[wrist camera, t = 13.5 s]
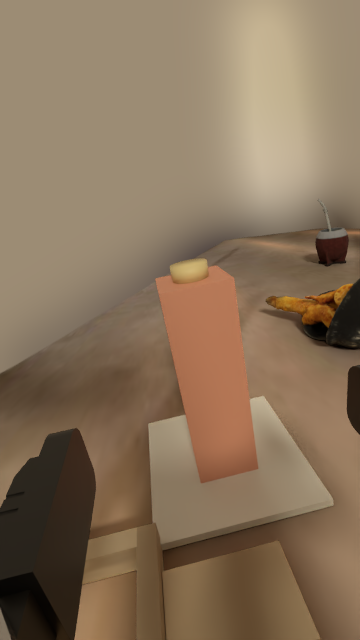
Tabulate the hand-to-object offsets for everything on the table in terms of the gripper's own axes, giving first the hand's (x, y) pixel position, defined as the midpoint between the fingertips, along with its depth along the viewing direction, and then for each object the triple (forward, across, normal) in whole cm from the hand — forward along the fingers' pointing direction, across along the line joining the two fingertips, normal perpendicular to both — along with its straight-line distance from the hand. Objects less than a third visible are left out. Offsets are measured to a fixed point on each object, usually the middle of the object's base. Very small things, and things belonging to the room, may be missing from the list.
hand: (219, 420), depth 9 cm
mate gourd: (+63, -43, +15) cm, 78 cm away
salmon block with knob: (+12, -2, +14) cm, 18 cm away
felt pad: (+12, -2, +14) cm, 19 cm away
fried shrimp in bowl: (+29, -21, +14) cm, 38 cm away
